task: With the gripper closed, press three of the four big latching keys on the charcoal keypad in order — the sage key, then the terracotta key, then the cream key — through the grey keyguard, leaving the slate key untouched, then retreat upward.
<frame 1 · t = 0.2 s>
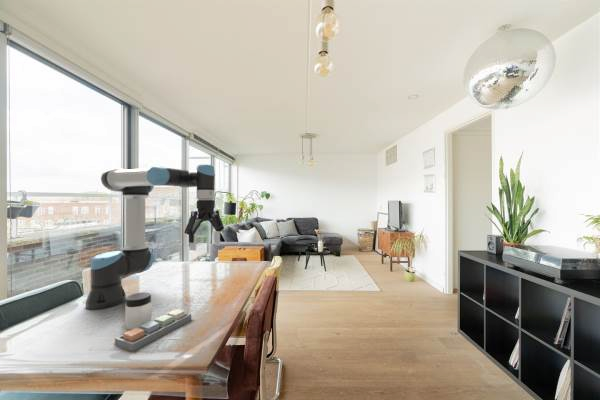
hand: (205, 247, 113), 28 cm above the table, fingers open, 13 cm apart
key terracotta: (133, 334, 84), point 4 cm above the table, slide at 0.0 cm
key sage: (163, 320, 94), point 4 cm above the table, slide at 0.0 cm
key cream: (176, 314, 99), point 4 cm above the table, slide at 0.0 cm
key slate: (149, 327, 89), point 4 cm above the table, slide at 0.0 cm
jar: (138, 328, 97), on the table
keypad: (156, 335, 91), on the table
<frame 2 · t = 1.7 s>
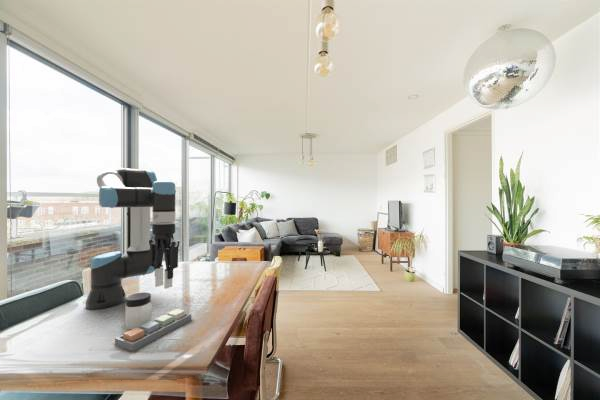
hand: (163, 286, 94), 17 cm above the table, fingers open, 4 cm apart
nothing on the table moved.
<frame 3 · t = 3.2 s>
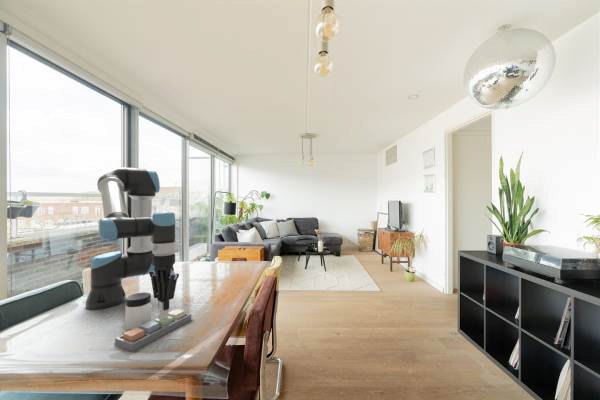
hand: (163, 318, 94), 5 cm above the table, fingers closed
key sage: (163, 321, 94), point 4 cm above the table, slide at 0.3 cm, touching gripper
everything else where it was.
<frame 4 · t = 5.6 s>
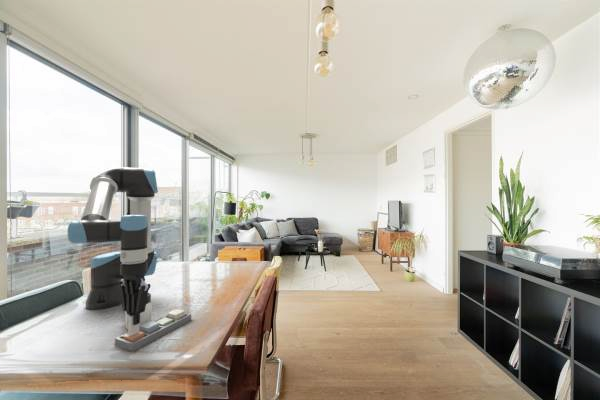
hand: (133, 333, 83), 5 cm above the table, fingers closed
key terracotta: (133, 337, 84), point 3 cm above the table, slide at 0.8 cm, touching gripper
key sage: (163, 323, 94), point 3 cm above the table, slide at 1.1 cm
everything else where it was.
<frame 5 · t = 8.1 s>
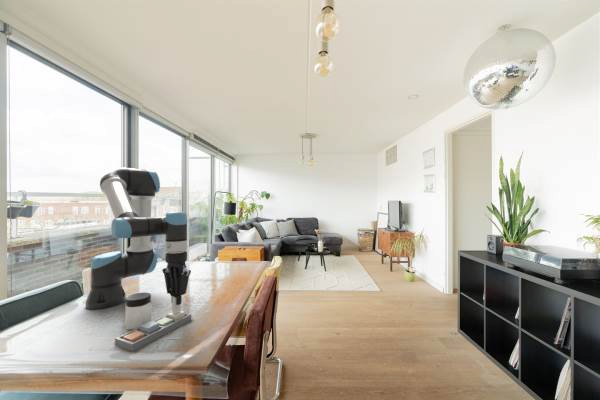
hand: (176, 312, 99), 5 cm above the table, fingers closed
key terracotta: (133, 338, 84), point 3 cm above the table, slide at 1.1 cm
key cream: (176, 315, 99), point 4 cm above the table, slide at 0.4 cm, touching gripper
everything else where it was.
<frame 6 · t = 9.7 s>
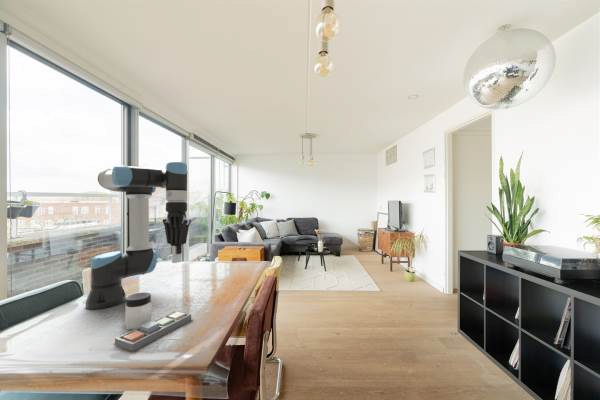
hand: (176, 262, 99), 24 cm above the table, fingers closed
key cream: (176, 317, 99), point 3 cm above the table, slide at 1.1 cm
everything else where it was.
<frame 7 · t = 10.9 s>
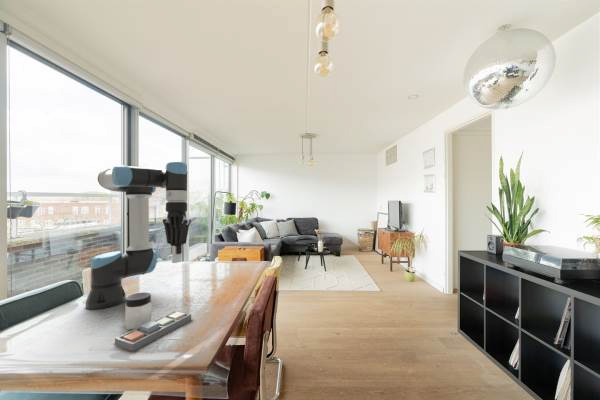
hand: (176, 262, 99), 24 cm above the table, fingers closed
nothing on the table moved.
at the end: key sage slide at 1.1 cm; key terracotta slide at 1.1 cm; key cream slide at 1.1 cm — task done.
